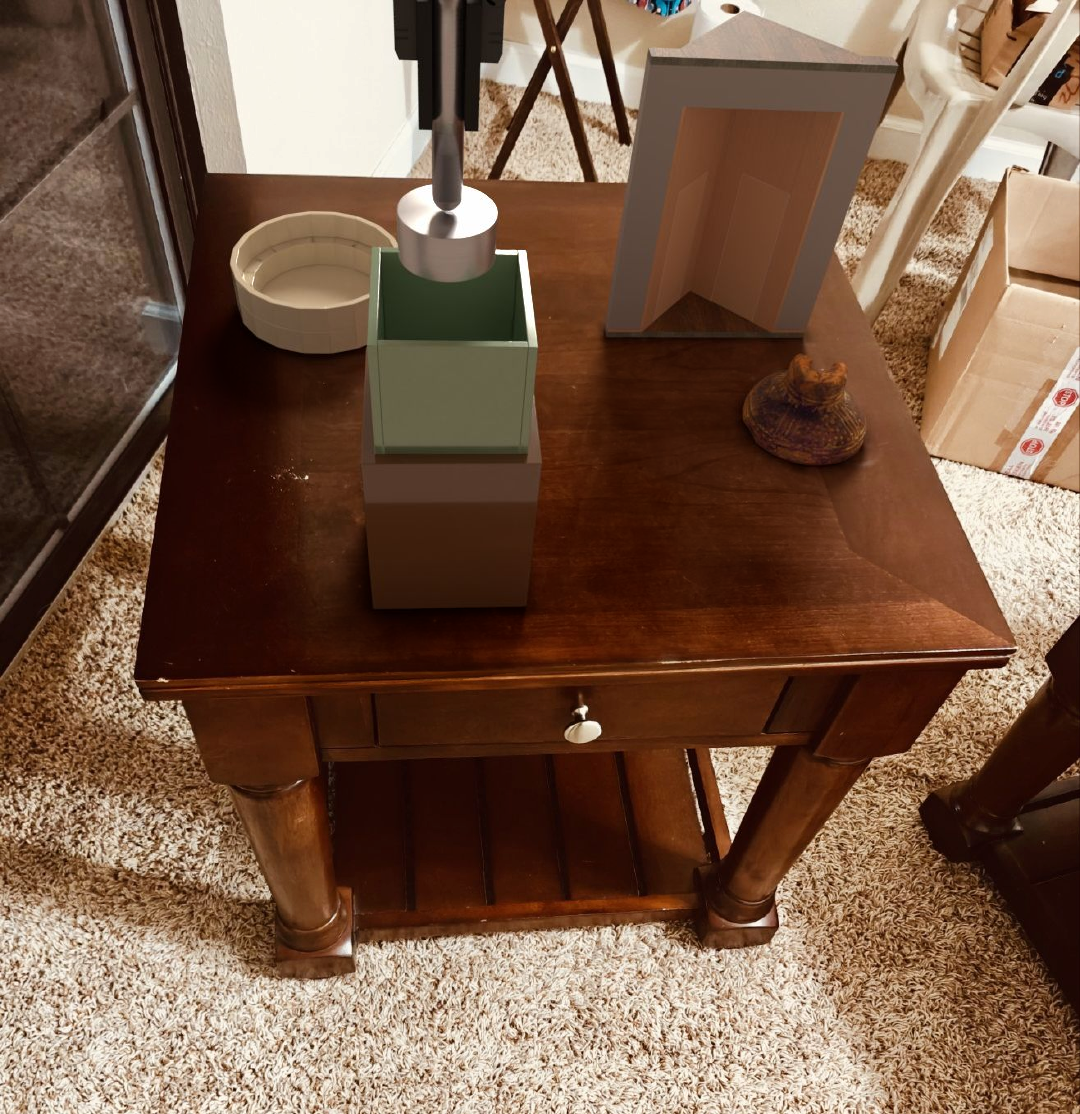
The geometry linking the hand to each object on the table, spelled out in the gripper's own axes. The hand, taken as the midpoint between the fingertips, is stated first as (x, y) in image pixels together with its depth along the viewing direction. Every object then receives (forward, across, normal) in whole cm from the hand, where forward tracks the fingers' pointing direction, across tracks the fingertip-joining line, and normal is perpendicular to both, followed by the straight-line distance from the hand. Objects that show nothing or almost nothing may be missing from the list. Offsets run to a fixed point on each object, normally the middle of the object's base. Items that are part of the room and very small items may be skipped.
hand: (448, 117), depth 54 cm
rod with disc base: (+9, 0, 0) cm, 9 cm away
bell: (+36, -34, -14) cm, 52 cm away
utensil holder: (+36, 0, +1) cm, 36 cm away
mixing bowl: (+36, +12, -31) cm, 49 cm away
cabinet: (+36, -27, -32) cm, 55 cm away
